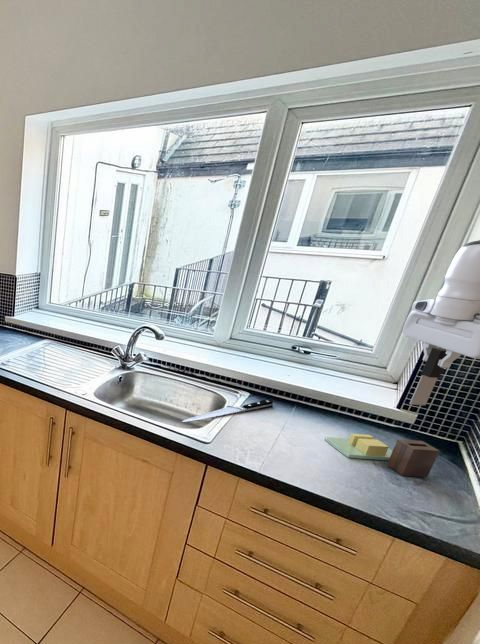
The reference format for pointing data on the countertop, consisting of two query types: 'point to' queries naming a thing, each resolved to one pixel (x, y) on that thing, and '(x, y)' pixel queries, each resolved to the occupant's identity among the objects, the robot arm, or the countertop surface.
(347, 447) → the butter dish
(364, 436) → the butter slice
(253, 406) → the steak knife
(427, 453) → the knife block
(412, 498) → the countertop surface
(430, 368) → the knife
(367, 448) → the butter block
